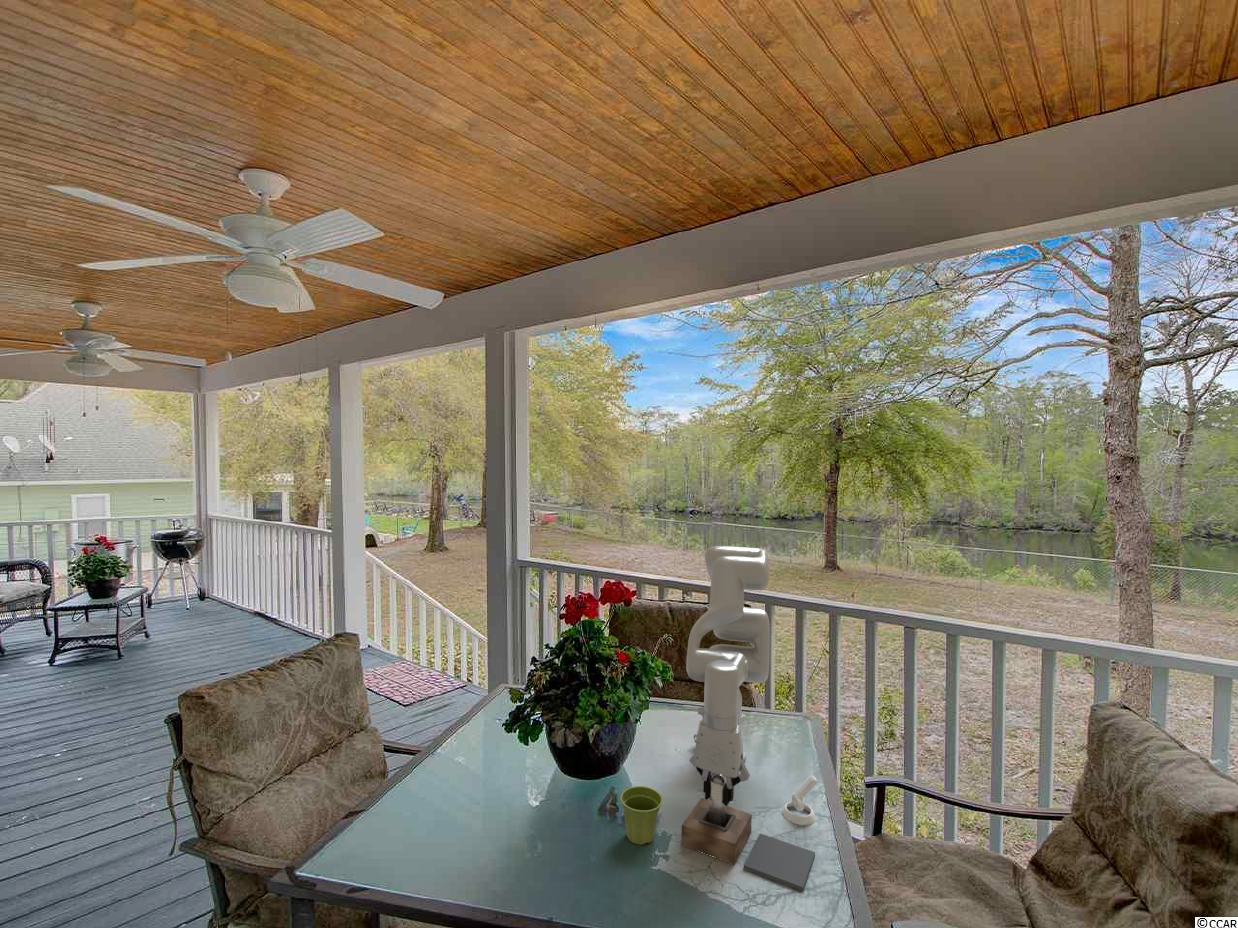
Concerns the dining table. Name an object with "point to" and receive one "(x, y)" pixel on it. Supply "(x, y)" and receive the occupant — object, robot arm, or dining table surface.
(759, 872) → the mat
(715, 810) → the steel peg
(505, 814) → the dining table surface
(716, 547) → the robot arm
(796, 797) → the white ring with handle
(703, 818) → the block
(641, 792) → the plant pot
